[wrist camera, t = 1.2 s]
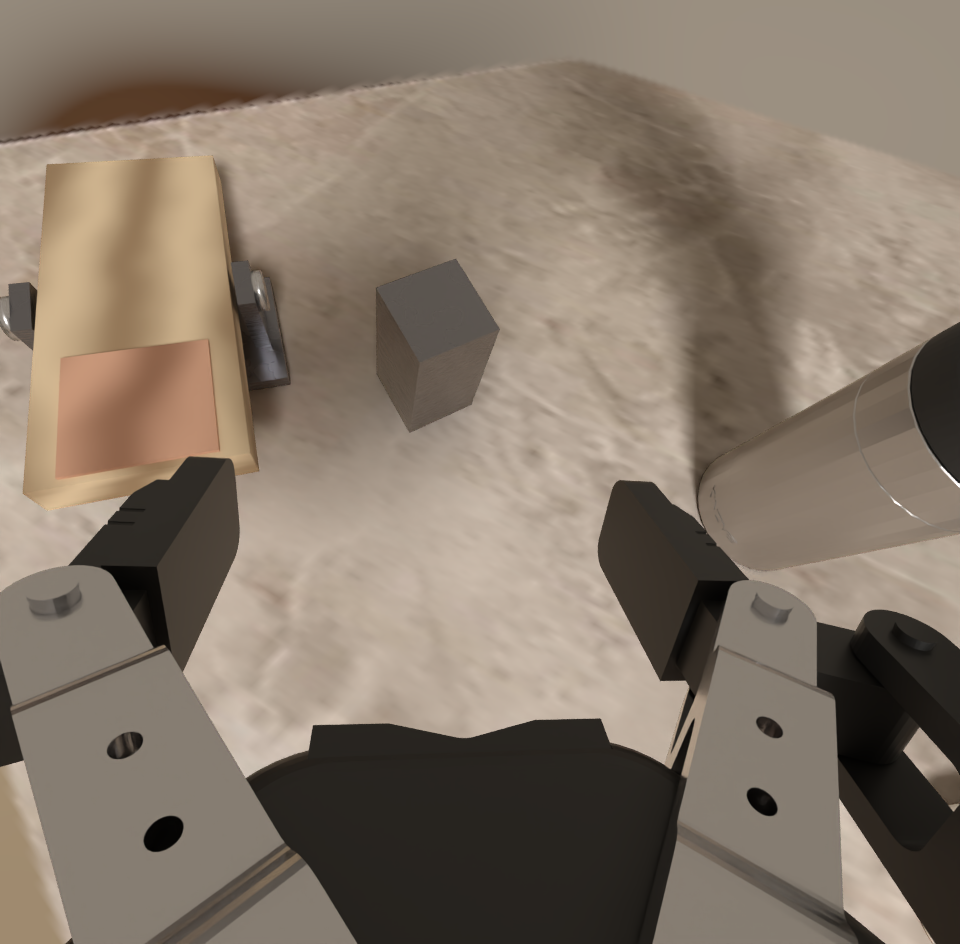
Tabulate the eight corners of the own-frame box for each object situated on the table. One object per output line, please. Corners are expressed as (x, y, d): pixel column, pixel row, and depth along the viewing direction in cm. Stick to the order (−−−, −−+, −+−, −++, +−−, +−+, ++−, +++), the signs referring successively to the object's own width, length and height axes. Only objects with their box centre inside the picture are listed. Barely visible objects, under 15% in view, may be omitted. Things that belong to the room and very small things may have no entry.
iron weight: (438, 348, 40) (455, 258, 31) (471, 404, 40) (499, 329, 30) (376, 374, 39) (376, 287, 30) (409, 432, 38) (419, 362, 29)
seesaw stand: (271, 285, 40) (253, 223, 34) (290, 384, 38) (273, 335, 32) (52, 310, 36) (-10, 245, 30) (59, 419, 34) (-6, 372, 28)
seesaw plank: (221, 182, 39) (211, 152, 37) (259, 471, 29) (249, 451, 27) (63, 192, 37) (45, 161, 35) (47, 510, 27) (20, 491, 25)
